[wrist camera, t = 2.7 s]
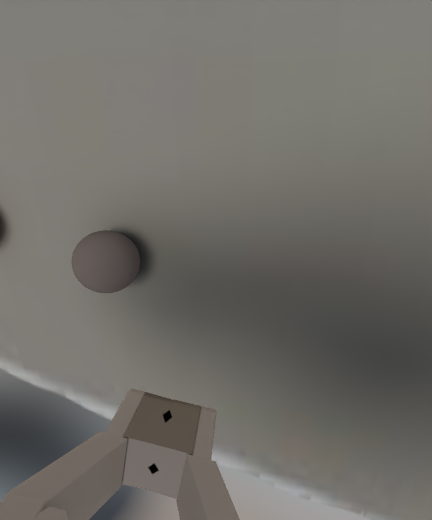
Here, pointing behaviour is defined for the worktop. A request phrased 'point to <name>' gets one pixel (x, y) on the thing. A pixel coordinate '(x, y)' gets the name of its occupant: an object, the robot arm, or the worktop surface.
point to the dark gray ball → (105, 261)
